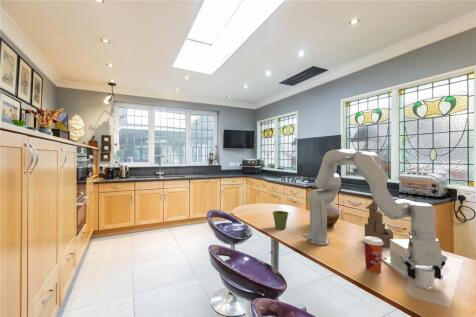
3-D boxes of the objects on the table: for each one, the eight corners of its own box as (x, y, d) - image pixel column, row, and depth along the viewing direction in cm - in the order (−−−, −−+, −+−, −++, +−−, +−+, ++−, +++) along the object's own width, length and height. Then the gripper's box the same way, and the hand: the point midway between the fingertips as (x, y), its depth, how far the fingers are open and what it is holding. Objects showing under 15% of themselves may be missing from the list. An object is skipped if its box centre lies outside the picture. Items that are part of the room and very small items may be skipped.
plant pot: (285, 232, 146) (285, 215, 145) (269, 229, 152) (269, 213, 152) (291, 227, 156) (291, 211, 156) (276, 224, 162) (275, 209, 162)
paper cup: (376, 275, 91) (375, 243, 91) (359, 267, 98) (359, 237, 98) (387, 271, 94) (387, 240, 94) (370, 263, 101) (370, 234, 101)
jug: (307, 225, 160) (306, 185, 159) (318, 220, 172) (318, 183, 171) (333, 231, 145) (332, 187, 145) (343, 225, 157) (343, 185, 157)
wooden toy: (394, 245, 121) (393, 202, 121) (385, 247, 119) (385, 203, 119) (370, 236, 136) (370, 197, 136) (362, 237, 134) (361, 198, 134)
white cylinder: (407, 279, 88) (407, 263, 88) (422, 278, 89) (422, 262, 89) (423, 290, 81) (423, 272, 81) (439, 289, 82) (439, 271, 82)
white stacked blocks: (403, 277, 90) (403, 251, 90) (380, 258, 106) (379, 237, 106) (442, 277, 89) (442, 251, 89) (413, 259, 105) (412, 237, 105)
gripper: (407, 238, 81) (408, 282, 81) (454, 238, 81) (455, 283, 81) (394, 231, 89) (395, 272, 89) (437, 231, 88) (438, 272, 88)
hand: (424, 277), depth 85 cm, fingers open, 9 cm apart
